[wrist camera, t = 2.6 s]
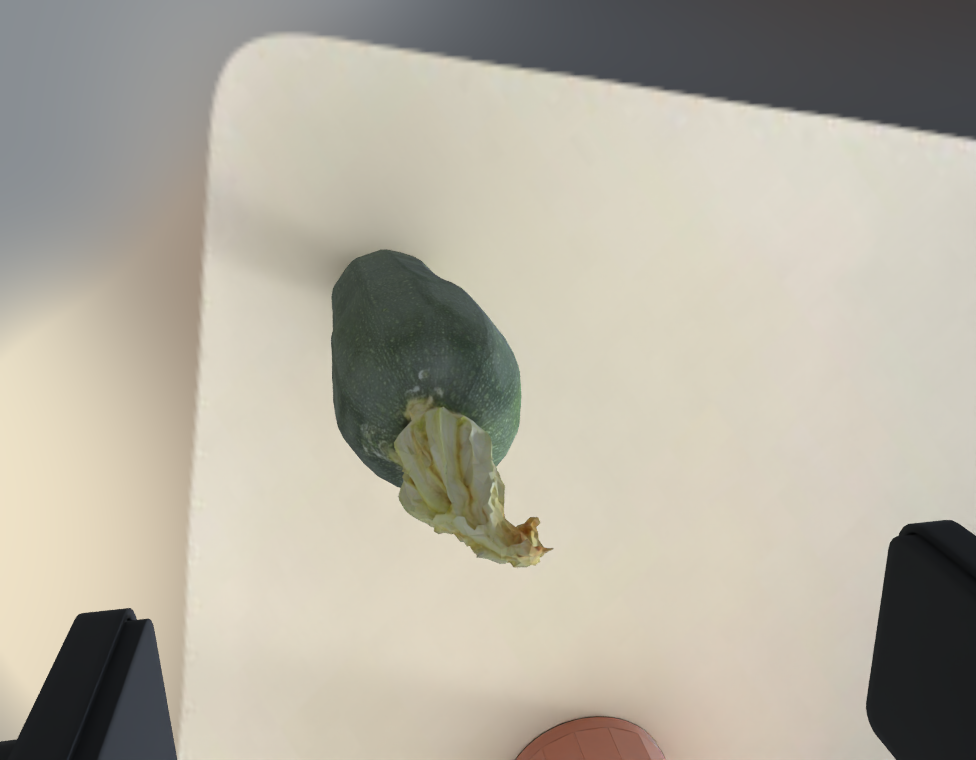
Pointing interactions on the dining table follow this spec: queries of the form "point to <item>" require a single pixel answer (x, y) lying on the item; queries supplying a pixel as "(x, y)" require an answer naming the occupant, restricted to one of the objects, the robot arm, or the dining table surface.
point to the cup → (593, 742)
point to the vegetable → (429, 399)
